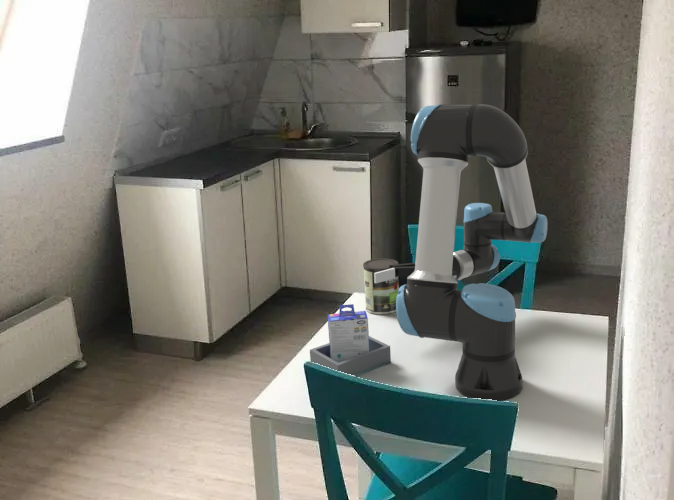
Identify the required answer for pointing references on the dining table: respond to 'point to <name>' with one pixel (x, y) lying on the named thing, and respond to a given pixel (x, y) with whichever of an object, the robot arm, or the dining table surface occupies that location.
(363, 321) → the ink cartridge box
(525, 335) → the dining table surface
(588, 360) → the dining table surface
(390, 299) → the coffee can
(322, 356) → the walled box
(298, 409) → the dining table surface
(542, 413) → the dining table surface
